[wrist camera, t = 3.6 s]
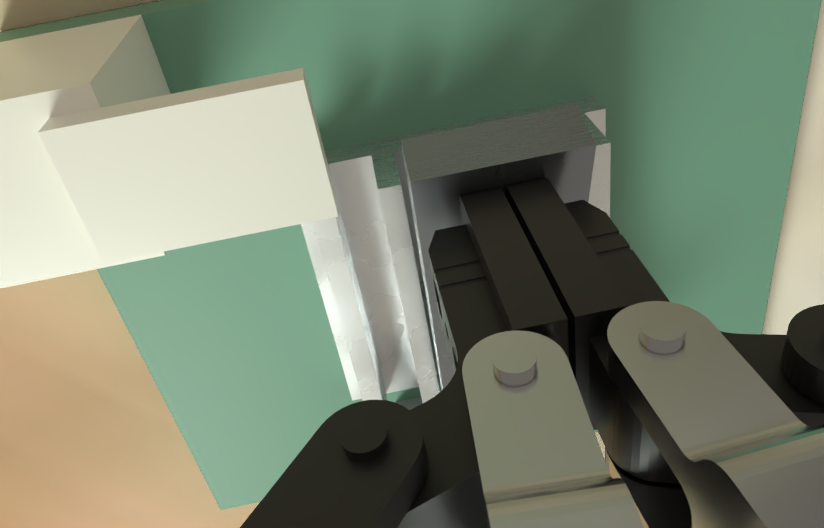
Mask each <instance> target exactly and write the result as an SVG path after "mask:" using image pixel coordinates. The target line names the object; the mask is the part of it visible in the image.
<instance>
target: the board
mask: <svg viewBox="0 0 824 528" xmlns="http://www.w3.org/2000/svg"><path fill="white" fill-rule="evenodd" d="M820 5H821V0H162V1H156V2H151V3H146V4H141V5H136V6H131V7H126V8H121V9H115V10H110V11H105V12H100V13H95V14H90V15H85V16H80V17H74V18H69V19H64V20H59V21H54V22H49V23H44V24H38V25H33V26H28V27H23V28H18V29H13V30H8V31H3V32H0V42H3V41H8V40H14V39H19V38H24V37H29V36H34V35H39V34H44V33H49V32H55V31H60V30H65V29H70V28H75V27H80V26H85V25H90V24H95V23H101V22H106V21H111V20H116V19H121V18H126V17H131V16H136V15H141V16H142V18H143V21H144V24H145V26H146V29H147V32H148V34H149V37H150V40H151V42H152V45H153V48H154V50H155V53H156V56H157V59H158V61H159V64H160V67H161V69H162V72H163V75H164V77H165V80H166V83H167V85H168V88H169V91H170V93H171V94H173V93H178V92H183V91H188V90H193V89H198V88H203V87H209V86H214V85H219V84H224V83H229V82H234V81H239V80H244V79H249V78H254V77H259V76H264V75H269V74H274V73H280V72H285V71H290V70H295V69H300V68H304V71H305V75H306V79H307V83H308V87H309V91H310V95H311V99H312V103H313V107H314V111H315V115H316V119H317V123H318V127H319V131H320V135H321V139H322V143H323V147H324V149H329V148H334V147H339V146H344V145H349V144H354V143H359V142H364V141H369V140H374V139H379V138H384V137H389V136H394V135H399V134H404V133H409V132H414V131H419V130H424V129H429V128H434V127H439V126H444V125H449V124H454V123H459V122H464V121H469V120H475V119H480V118H485V117H490V116H495V115H500V114H505V113H510V112H515V111H520V110H525V109H530V108H535V107H540V106H545V105H550V104H555V103H560V102H565V101H570V100H575V99H580V98H585V97H590V96H594V97H595V98H596V99H597V100H598V101H599V102H600V103H601V104H602V105H603V106H604V107H605V109H606V138H607V139H608V140H609V141H610V142H611V161H610V219H611V220H612V222H613V223H614V224H615V226H616V227H617V229H618V230H619V233H620V235H622V236H623V237H624V238H625V240H626V241H627V242H628V244H629V245H630V249H631V250H633V251H634V252H635V254H636V255H637V256H638V258H639V259H640V261H641V262H642V263H643V265H644V266H645V268H646V269H647V270H648V272H649V273H650V275H651V276H652V277H653V279H654V280H655V282H656V283H657V284H658V286H659V287H660V289H661V290H662V291H663V293H664V294H665V295H666V297H667V298H668V300H669V301H670V302H673V303H677V304H682V305H684V306H687V307H690V308H692V309H694V310H696V311H698V312H700V313H701V314H703V315H704V316H705V317H707V318H708V319H709V320H710V321H711V322H712V323H713V324H714V326H715V327H716V328H717V329H718V330H719V331H721V332H727V333H737V334H762V330H763V324H764V319H765V313H766V308H767V302H768V296H769V291H770V285H771V280H772V274H773V268H774V263H775V257H776V252H777V246H778V240H779V235H780V229H781V224H782V218H783V212H784V207H785V201H786V196H787V190H788V184H789V179H790V173H791V168H792V162H793V156H794V151H795V145H796V139H797V134H798V128H799V123H800V117H801V111H802V106H803V100H804V95H805V89H806V83H807V78H808V72H809V67H810V61H811V55H812V50H813V44H814V39H815V33H816V27H817V22H818V16H819V11H820ZM97 270H98V272H99V274H100V276H101V278H102V280H103V282H104V284H105V286H106V288H107V290H108V292H109V294H110V296H111V298H112V300H113V301H114V303H115V305H116V307H117V309H118V311H119V313H120V315H121V317H122V319H123V321H124V323H125V325H126V327H127V329H128V331H129V333H130V335H131V336H132V338H133V340H134V342H135V344H136V346H137V348H138V350H139V352H140V354H141V356H142V358H143V360H144V362H145V364H146V366H147V368H148V369H149V371H150V373H151V375H152V377H153V379H154V381H155V383H156V385H157V387H158V389H159V391H160V393H161V395H162V397H163V399H164V401H165V403H166V404H167V406H168V408H169V410H170V412H171V414H172V416H173V418H174V420H175V422H176V424H177V426H178V428H179V430H180V432H181V434H182V436H183V438H184V439H185V441H186V443H187V445H188V447H189V449H190V451H191V453H192V455H193V457H194V459H195V461H196V463H197V465H198V467H199V469H200V471H201V472H202V474H203V476H204V478H205V480H206V482H207V484H208V486H209V488H210V490H211V492H212V494H213V496H214V498H215V500H216V502H217V504H218V506H219V507H220V509H221V510H222V509H227V508H232V507H237V506H242V505H247V504H251V503H256V502H261V501H262V499H263V498H264V497H265V496H266V494H267V493H268V492H269V490H270V489H271V488H272V487H273V485H274V484H275V483H276V482H277V480H278V479H279V478H280V477H281V475H282V474H283V473H284V472H285V470H286V469H287V468H288V466H289V465H290V464H291V463H292V461H293V460H294V459H295V458H296V456H297V455H298V454H299V453H300V451H301V450H302V449H303V447H304V446H305V445H306V444H307V442H308V441H309V440H310V439H311V437H312V436H313V435H314V434H315V432H316V431H317V430H318V429H319V427H320V426H321V425H322V424H323V423H324V422H325V421H326V419H328V418H329V417H330V416H331V415H332V414H334V413H335V412H337V411H338V410H340V409H342V408H344V407H346V406H348V405H350V404H353V403H356V402H360V401H363V400H362V399H358V400H353V401H352V398H351V394H350V391H349V387H348V384H347V381H346V377H345V374H344V370H343V367H342V363H341V360H340V357H339V353H338V350H337V346H336V343H335V340H334V336H333V333H332V329H331V326H330V322H329V319H328V316H327V312H326V309H325V305H324V302H323V298H322V295H321V292H320V288H319V285H318V281H317V278H316V275H315V271H314V268H313V264H312V261H311V257H310V254H309V251H308V247H307V244H306V240H305V237H304V233H303V230H302V227H301V224H298V225H293V226H288V227H283V228H278V229H273V230H268V231H263V232H258V233H253V234H248V235H243V236H238V237H233V238H228V239H223V240H218V241H213V242H208V243H203V244H198V245H194V246H189V247H184V248H179V249H174V250H169V251H166V254H165V255H164V256H159V257H154V258H149V259H144V260H139V261H134V262H129V263H124V264H119V265H114V266H109V267H104V268H99V269H97ZM438 385H439V390H440V392H441V391H442V390H441V384H440V383H438ZM386 397H387V401H391V402H395V403H398V404H400V405H402V406H404V407H405V408H407V409H408V410H411V409H413V408H415V407H417V406H419V405H421V404H423V403H422V398H421V393H420V389H419V387H416V388H411V389H406V390H401V391H396V392H392V393H387V394H386ZM594 432H598V430H594Z"/></svg>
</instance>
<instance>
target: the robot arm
mask: <svg viewBox="0 0 824 528" xmlns="http://www.w3.org/2000/svg"><path fill="white" fill-rule="evenodd" d="M459 209H460V222H461V225H459V226H454V227H450V228H445V229H440V230H435V233H434V235H433V238H432V241H431V244H430V246H429V249H428V253H429V259H430V264H431V270H432V276H433V282H434V288H435V294H436V300H437V305H438V311H439V317H440V321H441V325H442V328H443V332H444V336H445V339H446V343H447V347H448V350H449V354H450V357H451V362H452V365H453V369H454V376H453V378H452V379H451V381H450V382H449V383H448V385H447V386H446V387H445V388H444V389H443V390H442V391H441V392H440V393H438V394H437V395H436V396H435V397H433V398H431V399H430V400H428V401H426V402H425V403H423V404H421V405H419V406H417V407H415V408H413V409H411V410H408V409H407V408H405V407H404V406H402V405H400V404H398V403H395V402H391V401H387V400H365V401H360V402H356V403H353V404H350V405H348V406H346V407H344V408H342V409H340V410H338V411H337V412H335V413H334V414H332V415H331V416H330V417H329V418H328V419H326V421H325V422H324V423H323V424H322V425H321V426H320V427H319V429H318V430H317V431H316V432H315V434H314V435H313V436H312V437H311V439H310V440H309V441H308V442H307V444H306V445H305V446H304V447H303V449H302V450H301V451H300V453H299V454H298V455H297V456H296V458H295V459H294V460H293V461H292V463H291V464H290V465H289V466H288V468H287V469H286V470H285V472H284V473H283V474H282V475H281V477H280V478H279V479H278V480H277V482H276V483H275V484H274V485H273V487H272V488H271V489H270V490H269V492H268V493H267V494H266V496H265V497H264V498H263V499H262V501H261V502H260V503H259V504H258V506H257V507H256V508H255V509H254V511H253V512H252V513H251V514H250V516H249V517H248V518H247V520H246V521H245V522H244V523H243V525H242V526H241V527H240V528H824V304H823V305H817V306H813V307H809V308H807V309H805V310H802V311H801V312H799V313H798V314H796V315H795V316H794V317H793V319H792V320H791V322H790V324H789V326H788V331H787V335H765V334H737V333H727V332H721V331H719V330H718V329H717V328H716V327H715V326H714V324H713V323H712V322H711V321H710V320H709V319H708V318H707V317H705V316H704V315H703V314H701V313H700V312H698V311H696V310H694V309H692V308H690V307H687V306H684V305H682V304H677V303H673V302H670V301H669V300H668V298H667V297H666V295H665V294H664V293H663V291H662V290H661V289H660V287H659V286H658V284H657V283H656V282H655V280H654V279H653V277H652V276H651V275H650V273H649V272H648V270H647V269H646V268H645V266H644V265H643V263H642V262H641V261H640V259H639V258H638V256H637V255H636V254H635V252H634V251H633V250H631V249H630V245H629V244H628V242H627V241H626V240H625V238H624V237H623V236H622V235H620V233H619V230H618V229H617V227H616V226H615V224H614V223H613V222H612V220H611V219H610V217H609V216H608V215H607V213H606V212H604V211H602V210H600V209H599V208H597V207H595V206H593V205H592V204H590V203H588V202H586V201H585V200H579V201H574V202H569V203H564V202H563V201H562V199H561V198H560V196H559V194H558V193H557V191H556V190H555V188H554V187H553V185H552V183H551V182H550V181H549V179H548V178H543V179H538V180H533V181H528V182H523V183H519V184H514V185H509V186H505V194H504V192H503V190H502V189H501V188H495V189H490V190H486V191H481V192H476V193H471V194H466V195H461V196H459ZM594 430H598V432H599V434H600V436H601V438H602V440H603V443H604V445H605V460H604V457H603V454H602V452H601V449H600V446H599V443H598V441H597V438H596V435H595V432H594Z"/></svg>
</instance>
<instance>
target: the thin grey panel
mask: <svg viewBox="0 0 824 528" xmlns="http://www.w3.org/2000/svg"><path fill="white" fill-rule="evenodd" d="M401 145H402V151H403V158H404V164H405V170H406V176H407V182H408V188H409V194H410V200H411V207H412V213H413V219H414V225H415V231H416V237H417V243H418V249H419V256H420V262H421V268H422V274H423V280H424V286H425V292H426V298H427V305H428V311H429V317H430V323H431V329H432V335H433V341H434V347H435V354H436V360H437V366H438V372H439V378H440V384H441V390H443V389H444V388H445V387H446V386H447V385H448V383H449V382H450V381H451V379H452V378H453V376H454V369H453V365H452V362H451V357H450V354H449V350H448V347H447V343H446V339H445V336H444V332H443V328H442V325H441V321H440V317H439V311H438V305H437V300H436V294H435V288H434V282H433V276H432V270H431V264H430V259H429V253H428V249H429V246H430V244H431V241H432V238H433V235H434V233H435V230H440V229H445V228H450V227H454V226H459V225H461V222H460V209H459V196H461V195H466V194H471V193H476V192H481V191H486V190H490V189H495V188H501V189H502V190H503V192H504V194H505V186H509V185H514V184H519V183H523V182H528V181H533V180H538V179H543V178H548V179H549V181H550V182H551V183H552V185H553V187H554V188H555V190H556V191H557V193H558V194H559V196H560V198H561V199H562V201H563V202H564V203H569V202H574V201H579V200H585V201H586V202H588V201H589V193H590V186H591V179H592V172H593V165H594V158H595V151H596V143H595V141H594V139H593V137H592V135H591V133H590V131H589V129H588V127H587V125H586V123H585V121H584V119H583V117H582V115H581V112H580V110H579V108H578V106H577V105H573V106H568V107H562V108H557V109H552V110H547V111H542V112H537V113H532V114H527V115H522V116H517V117H512V118H507V119H502V120H497V121H492V122H487V123H482V124H477V125H472V126H467V127H462V128H457V129H452V130H447V131H442V132H437V133H432V134H427V135H422V136H417V137H412V138H407V139H402V140H401Z"/></svg>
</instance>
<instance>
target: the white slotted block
mask: <svg viewBox="0 0 824 528" xmlns="http://www.w3.org/2000/svg"><path fill="white" fill-rule="evenodd" d="M573 105H577V106H578V108H579V110H580V112H581V115H582V117H583V119H584V121H585V123H586V125H587V127H588V129H589V131H590V133H591V135H592V137H593V139H594V141H595V143H596V151H595V158H594V165H593V172H592V179H591V186H590V193H589V201H588V203H590V204H592V205H593V206H595V207H597V208H599V209H600V210H602V211H604V212H606V213H607V215H608V216H609V217H610V161H611V142H610V141H609V140H608V139H607V138H606V109H605V107H604V106H603V105H602V104H601V103H600V102H599V101H598V100H597V99H596V98H595V97H594V96H590V97H585V98H580V99H575V100H570V101H565V102H560V103H555V104H550V105H545V106H540V107H535V108H530V109H525V110H520V111H515V112H510V113H505V114H500V115H495V116H490V117H485V118H480V119H475V120H469V121H464V122H459V123H454V124H449V125H444V126H439V127H434V128H429V129H424V130H419V131H414V132H409V133H404V134H399V135H394V136H389V137H384V138H379V139H374V140H369V141H364V142H359V143H354V144H349V145H344V146H339V147H334V148H329V149H324V151H325V155H326V159H327V163H328V167H329V171H330V175H331V179H332V183H333V187H334V191H335V195H336V199H337V208H338V217H333V218H328V219H323V220H318V221H313V222H308V223H303V224H301V227H302V230H303V233H304V237H305V240H306V244H307V247H308V251H309V254H310V257H311V261H312V264H313V268H314V271H315V275H316V278H317V281H318V285H319V288H320V292H321V295H322V298H323V302H324V305H325V309H326V312H327V316H328V319H329V322H330V326H331V329H332V333H333V336H334V340H335V343H336V346H337V350H338V353H339V357H340V360H341V363H342V367H343V370H344V374H345V377H346V381H347V384H348V387H349V391H350V394H351V398H352V401H353V400H358V399H362V400H363V401H365V400H387V397H386V394H387V393H392V392H396V391H401V390H406V389H411V388H416V387H419V389H420V393H421V398H422V403H425V402H426V401H428V400H430V399H431V398H433V397H435V396H436V395H437V394H438V393H440V390H439V385H438V383H440V378H439V372H438V366H437V360H436V354H435V347H434V341H433V335H432V329H431V323H430V317H429V311H428V305H427V298H426V292H425V286H424V280H423V274H422V268H421V262H420V256H419V249H418V243H417V237H416V231H415V225H414V219H413V213H412V207H411V200H410V194H409V188H408V182H407V176H406V170H405V164H404V158H403V151H402V145H401V140H402V139H407V138H412V137H417V136H422V135H427V134H432V133H437V132H442V131H447V130H452V129H457V128H462V127H467V126H472V125H477V124H482V123H487V122H492V121H497V120H502V119H507V118H512V117H517V116H522V115H527V114H532V113H537V112H542V111H547V110H552V109H557V108H562V107H568V106H573Z"/></svg>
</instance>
